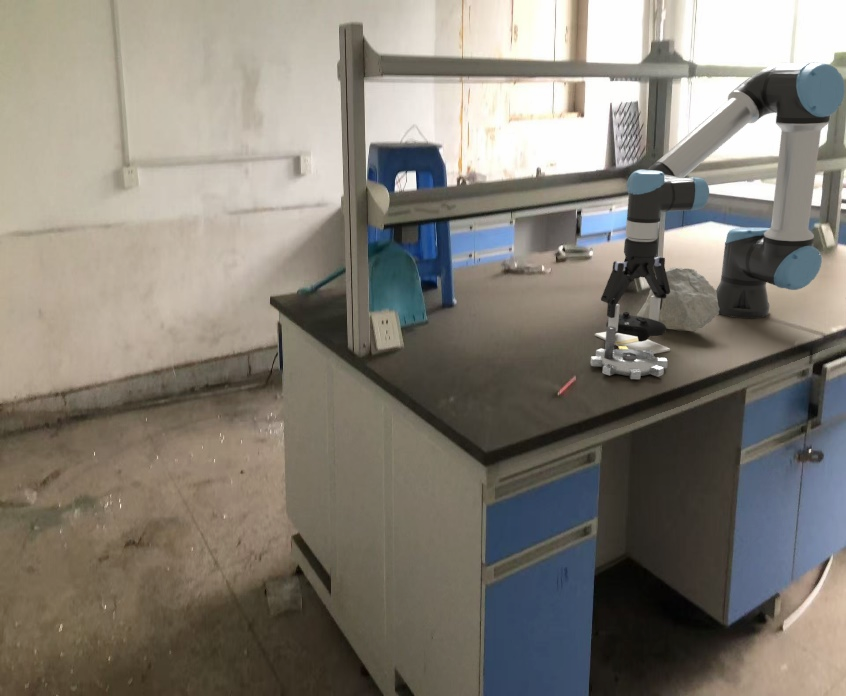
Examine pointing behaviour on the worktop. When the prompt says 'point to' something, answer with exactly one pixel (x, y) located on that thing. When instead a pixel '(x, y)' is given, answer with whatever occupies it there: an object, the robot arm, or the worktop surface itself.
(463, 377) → the worktop surface
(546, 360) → the worktop surface
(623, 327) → the gaming controller
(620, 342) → the marked pad
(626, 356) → the sprocket
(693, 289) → the grey rock
